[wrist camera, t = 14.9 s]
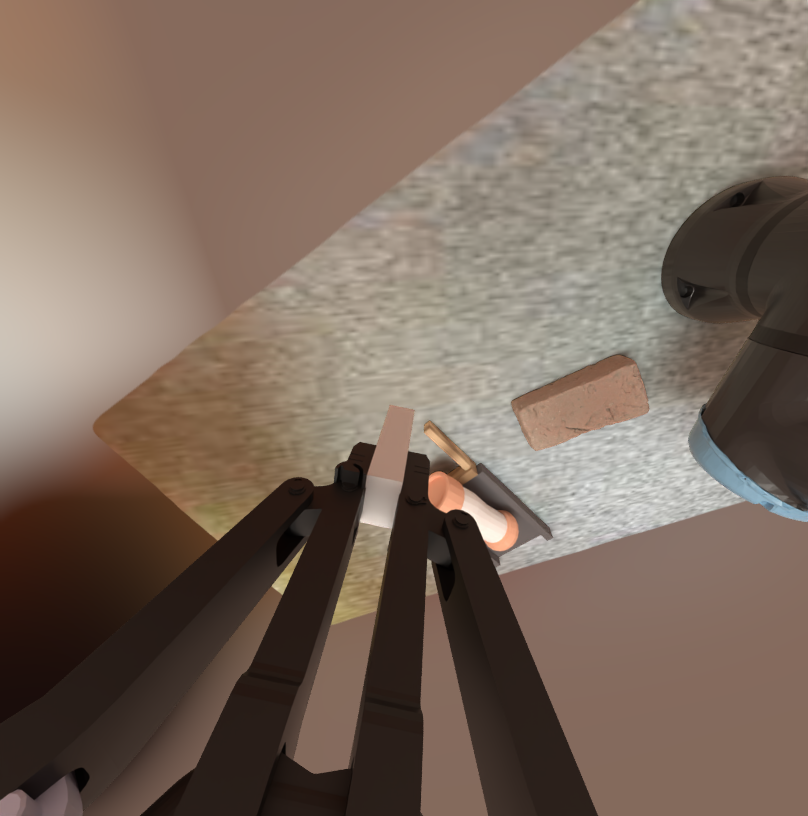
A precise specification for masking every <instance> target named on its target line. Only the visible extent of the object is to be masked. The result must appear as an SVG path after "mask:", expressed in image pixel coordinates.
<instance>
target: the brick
mask: <svg viewBox="0 0 808 816" xmlns="http://www.w3.org/2000/svg"><path fill="white" fill-rule="evenodd" d="M647 402H648V398H647V395H646V390H645V387H644V384H643V381H642V378H641V375H640V373H639V369H638V367H637V364H636V362H635V361H634V360H632V359H630V358H627V357H625V356H621V355H615V356H611V357H609V358H607V359H604V360H602V361H599V362H598V363H597V364H595V365H593V366H592V365H590V366H587V367H586V368H584V369H582V370H579V371H577V372H575V373H573V374H570V375H567V376H566V377H564V378H561V379H559V380H557V381H555V382H554V383H551V384H548V385H546V386H544V387H542V388H540V389H537V390H534V391H532V392H529V393H527V394H525V395H523V396H521V397H519V398H517V399H515V400H513V401H512V402H511V403H512V404H511V405H512V408H513V411H514V413H515V415H516V417H517V419H518V421H519V423H520V426H521V429H522V432H523V433H524V436H525V437H526V439H527V441H528V443H529V444H530V446H531V447H532V448H533V449H534V450H535V451H538V450H542V449H545V448H549V447H552V446H555V445H558V444H560V443H563V442H566V441H568V440H570V439H571V438H574V437H577V436H579V435H580V434H581V433H586V432H589V431H591V430H596V429H601V427H604V426H605V425H612V424H615V423H619V422H622V421H626V420H629V419H632V418H635V417H638V416H640V415H644V414H646V413H648V411H649V404H648V403H647Z"/></svg>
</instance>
